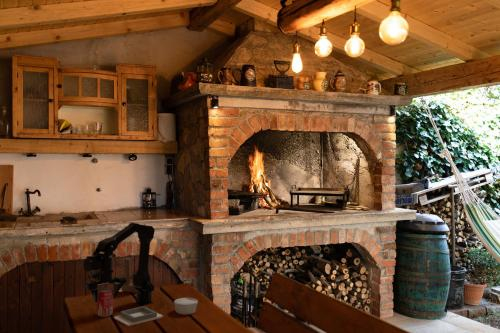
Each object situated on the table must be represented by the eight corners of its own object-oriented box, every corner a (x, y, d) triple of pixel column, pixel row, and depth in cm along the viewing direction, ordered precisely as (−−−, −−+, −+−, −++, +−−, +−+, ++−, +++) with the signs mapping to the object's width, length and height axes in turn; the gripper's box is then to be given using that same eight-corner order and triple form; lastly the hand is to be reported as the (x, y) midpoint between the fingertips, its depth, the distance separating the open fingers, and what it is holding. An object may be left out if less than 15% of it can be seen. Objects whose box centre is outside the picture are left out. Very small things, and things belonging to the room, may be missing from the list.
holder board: (148, 310, 222) (148, 304, 222) (163, 317, 213) (163, 311, 213) (113, 318, 210) (114, 312, 210) (127, 326, 201) (128, 320, 201)
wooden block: (138, 293, 250) (138, 260, 250) (121, 291, 254) (122, 258, 254) (141, 291, 254) (142, 259, 254) (125, 289, 258) (126, 257, 257)
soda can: (99, 312, 218) (99, 287, 218) (114, 312, 218) (114, 287, 218) (95, 317, 211) (95, 291, 210) (110, 317, 211) (111, 291, 211)
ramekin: (201, 310, 225) (201, 299, 225) (189, 317, 215) (189, 305, 215) (182, 306, 229) (182, 296, 229) (169, 313, 219) (169, 302, 219)
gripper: (115, 261, 226) (115, 293, 227) (79, 267, 214) (78, 300, 214) (127, 265, 218) (126, 298, 219) (89, 271, 206) (88, 306, 206)
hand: (105, 300), depth 214 cm, fingers open, 9 cm apart
